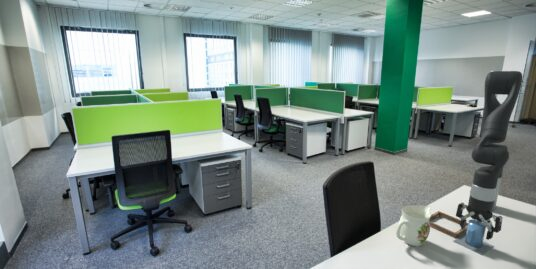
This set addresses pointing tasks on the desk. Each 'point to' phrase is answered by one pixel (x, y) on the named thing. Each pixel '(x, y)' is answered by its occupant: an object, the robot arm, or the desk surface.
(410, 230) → the pitcher
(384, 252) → the desk surface
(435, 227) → the holder
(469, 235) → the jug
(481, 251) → the mat
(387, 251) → the desk surface
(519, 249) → the desk surface
